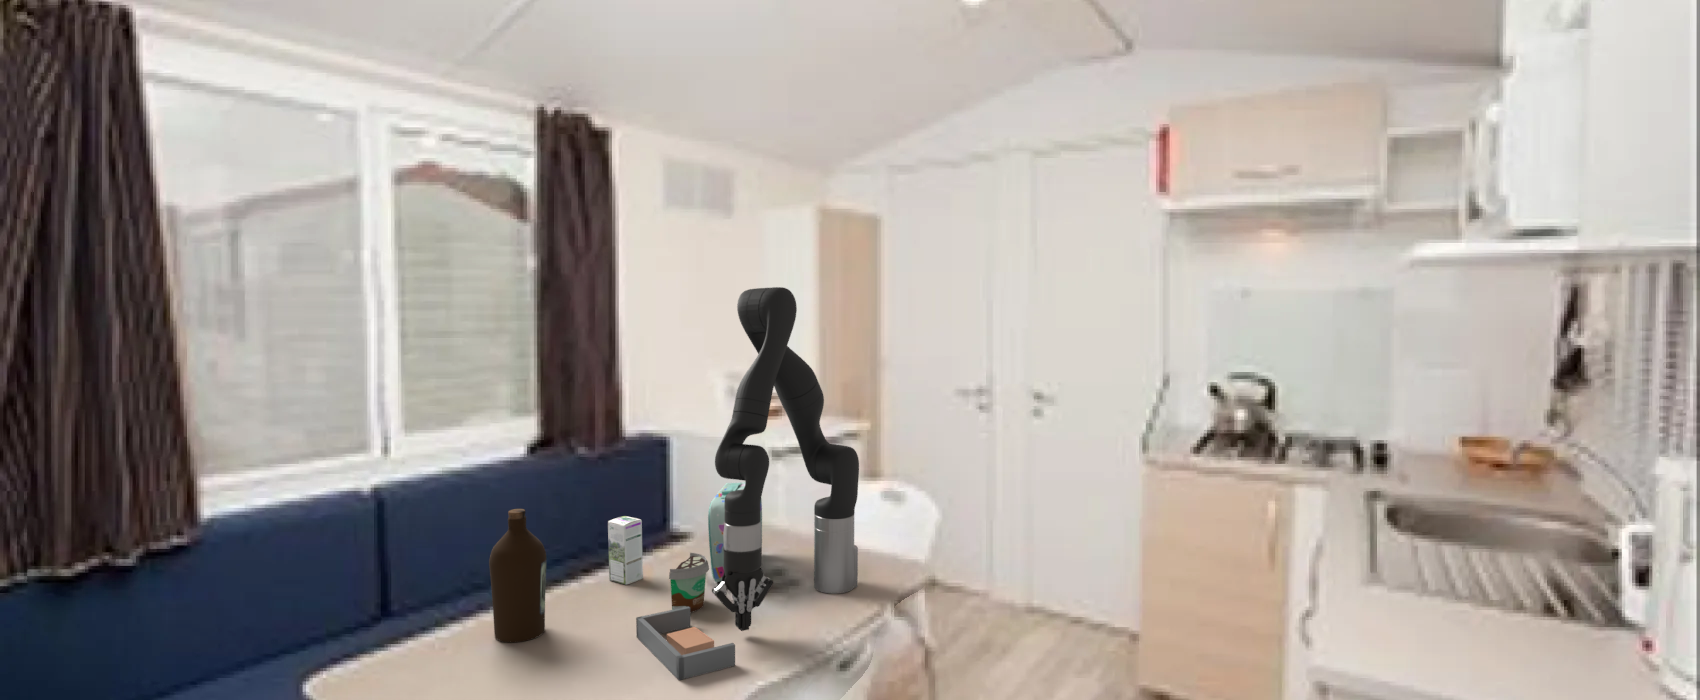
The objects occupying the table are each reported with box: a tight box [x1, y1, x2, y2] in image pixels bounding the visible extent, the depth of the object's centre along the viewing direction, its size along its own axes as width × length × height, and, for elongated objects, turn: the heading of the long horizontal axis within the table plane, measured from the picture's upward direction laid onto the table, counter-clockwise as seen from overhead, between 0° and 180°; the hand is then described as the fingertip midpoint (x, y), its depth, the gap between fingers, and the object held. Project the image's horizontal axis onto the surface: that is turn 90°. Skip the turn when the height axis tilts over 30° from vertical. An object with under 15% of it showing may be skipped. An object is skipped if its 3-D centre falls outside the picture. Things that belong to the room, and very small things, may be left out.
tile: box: [666, 626, 715, 655], centre depth 167 cm, size 6×8×3 cm
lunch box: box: [707, 481, 763, 583], centre depth 212 cm, size 27×10×21 cm, turn 179°
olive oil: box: [488, 508, 547, 643], centre depth 174 cm, size 11×11×25 cm
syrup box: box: [607, 515, 644, 586], centre depth 205 cm, size 6×6×14 cm
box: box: [635, 606, 736, 681], centre depth 167 cm, size 11×22×4 cm, turn 33°
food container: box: [668, 552, 710, 613], centre depth 189 cm, size 12×6×10 cm, turn 168°
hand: (743, 629), depth 174 cm, fingers closed
